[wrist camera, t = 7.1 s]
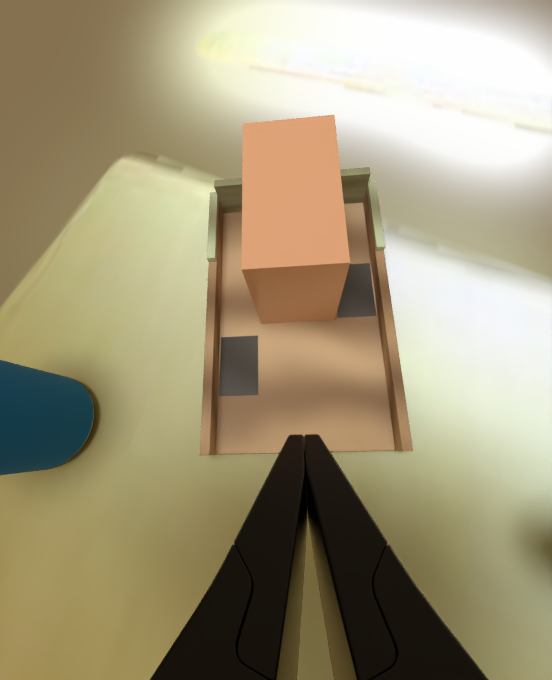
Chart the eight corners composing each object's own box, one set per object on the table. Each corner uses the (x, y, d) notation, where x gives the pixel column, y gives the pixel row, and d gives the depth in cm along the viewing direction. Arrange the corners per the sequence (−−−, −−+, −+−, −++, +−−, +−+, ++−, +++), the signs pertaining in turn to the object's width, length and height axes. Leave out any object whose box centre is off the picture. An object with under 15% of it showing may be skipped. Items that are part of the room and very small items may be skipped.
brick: (334, 319, 23) (349, 262, 16) (261, 323, 24) (241, 269, 16) (325, 208, 26) (334, 114, 19) (260, 213, 27) (242, 123, 19)
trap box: (402, 449, 21) (421, 451, 17) (209, 453, 22) (192, 456, 18) (368, 200, 27) (377, 166, 23) (218, 211, 28) (206, 180, 24)
